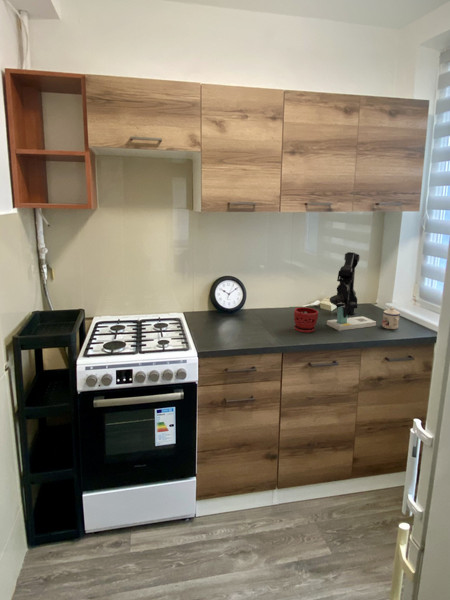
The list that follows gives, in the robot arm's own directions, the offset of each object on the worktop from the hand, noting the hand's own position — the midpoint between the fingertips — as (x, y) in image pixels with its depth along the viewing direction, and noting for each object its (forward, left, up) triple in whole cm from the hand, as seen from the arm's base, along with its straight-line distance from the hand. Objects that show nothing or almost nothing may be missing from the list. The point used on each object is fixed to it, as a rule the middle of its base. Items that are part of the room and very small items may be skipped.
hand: (342, 316), depth 244 cm
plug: (0, 0, -4) cm, 4 cm away
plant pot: (-1, -24, -6) cm, 25 cm away
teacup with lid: (+12, +26, -6) cm, 29 cm away
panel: (0, +7, -6) cm, 9 cm away
